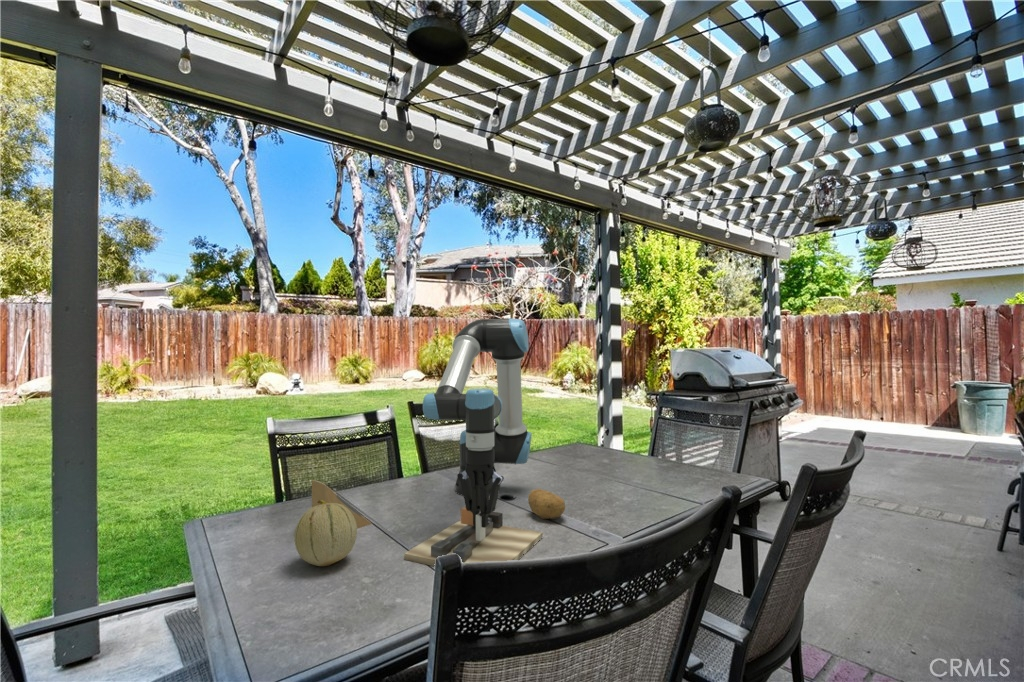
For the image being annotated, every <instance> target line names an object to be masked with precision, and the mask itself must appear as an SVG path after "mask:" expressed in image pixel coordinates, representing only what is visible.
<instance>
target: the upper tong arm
mask: <svg viewBox="0 0 1024 682" xmlns="http://www.w3.org/2000/svg"><path fill="white" fill-rule="evenodd" d="M492 531H493V522H492V517H488V526H487V527H485V537H487V536H488V535H489V534H490V533H491V532H492ZM480 542H481V541H476V532H475V533H474V534H472V535H471V536H470V537H469V538H468V539H467V540H465V541H464V542H463V543H461V544H460V545H459V546H458V547H456V548H455V549H454V550H453V553H456V554H458V555H459V556H460V557H461V559H462V562H465V561H466V560H467V559H468V558H469V557H470V556H471V555H472V550H473V549H474V548H475V547H476V546H477V545H478V544H479V543H480Z"/></svg>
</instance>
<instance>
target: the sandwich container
mask: <svg viewBox="0 0 1024 682" xmlns="http://www.w3.org/2000/svg"><path fill="white" fill-rule="evenodd" d="M319 500H323V501H325V502H326V503H338V504H341V505H344V506H345V507H346V508H347V509H348V510H350V512H352V514H353V516H354V518H355V520H356V524H357V529H360V528H363V527H367V526H370V525H373V523H372V522H371V521H370V520H368V519H367V518H366V517H365V516H363V515H362V514H361V513H360V512H359V511H357V510H356V509H355V508H354V507H353V506H351V505H350V504H349V503H348V502H347V501H345V500H344V498H342V497H340V496H339V494H337V493H336V492H334V490H332V488H330V487H329V486H328V485H327V484H325V483H323V482H321V481H319V480H316V479H312V480H311V508H312V507H314V506H317V505H320V504H321V503H318V501H319Z"/></svg>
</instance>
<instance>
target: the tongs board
mask: <svg viewBox="0 0 1024 682" xmlns="http://www.w3.org/2000/svg"><path fill="white" fill-rule="evenodd" d="M488 517H492V522H493V531H492V532H491V533H490V534H489V535H488V536H487V537H485V538H484V539H483V540H482V541H481V542H480V543H479V544H478V545H477V546H476V547H475V548H474V549H473V550H472V555H471V556H470V557H469V558H468V559H467V560H466V561H465V562H463V563H469V562H485V561H507V560H518V561H519V560H520V559H521V558H522V557H523V556H524V555H525V554H524V553H525V552H527V551H528V550H529V549H530V548H531V547H532V546H533V545H534V544H535V543H536V542H538V541H539V540H540V539H541V538H542V537H543V535H544V534H543V532H542V531H535V530H530V529H525V528H518V527H513V526H509V525H508V526H507V525H504V524H503V517H504V513H503V512H498V511H493V512H492V513H490V514H488ZM475 532H476V526H473V525H467V524H461V519H460V520H459V521H456V522H455V523H453V524H452V525H450V526H447V527H446V528H445V529H443V530H441V531H440V532H438V533H436V534H435V535H433V536H431V537H429V538H427V539H426V540H424V541H423V542H421V543H420V544H418V545H416V546H414V547H413V548H411V549H409V550H408V551H406V552H404V556H403V557H404V559H403V560H404V561H406V560H407V561H409V562H414V563H419V564H421V565H422V564H423V565H428V566H432V567H435V566H434V564H435V559H436V558H437V557H438V556H442V555H447V554H452V553H453V550H454V549H455V548H456V547H458V546H459V545H460V544H461V543H463V542H464V541H465V540H467V539H468V538H469V537H470V536H471V535H472V534H474V533H475ZM542 539H543V538H542ZM542 539H541V540H542ZM541 540H540V541H541ZM540 541H539V542H540ZM539 542H538V543H539ZM536 544H537V543H536ZM536 544H535V545H536ZM535 545H534V546H535ZM534 546H533V547H534ZM533 547H532V548H533ZM532 548H531V549H532ZM531 549H530V550H531ZM530 550H529V551H530ZM529 551H528V552H529ZM528 552H527V553H528ZM523 554H524V555H523ZM522 555H523V556H522ZM521 556H522V557H521ZM520 557H521V558H520Z"/></svg>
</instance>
